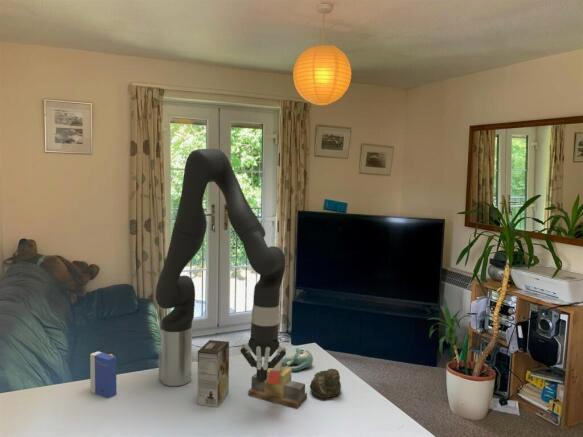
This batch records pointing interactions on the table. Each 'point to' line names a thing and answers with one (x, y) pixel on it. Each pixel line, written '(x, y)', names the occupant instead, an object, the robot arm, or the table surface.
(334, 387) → the seashell
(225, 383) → the coffee box
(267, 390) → the valve plinth
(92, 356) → the walkman
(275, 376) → the valve lever
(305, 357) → the stuffed animal
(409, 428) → the table surface
